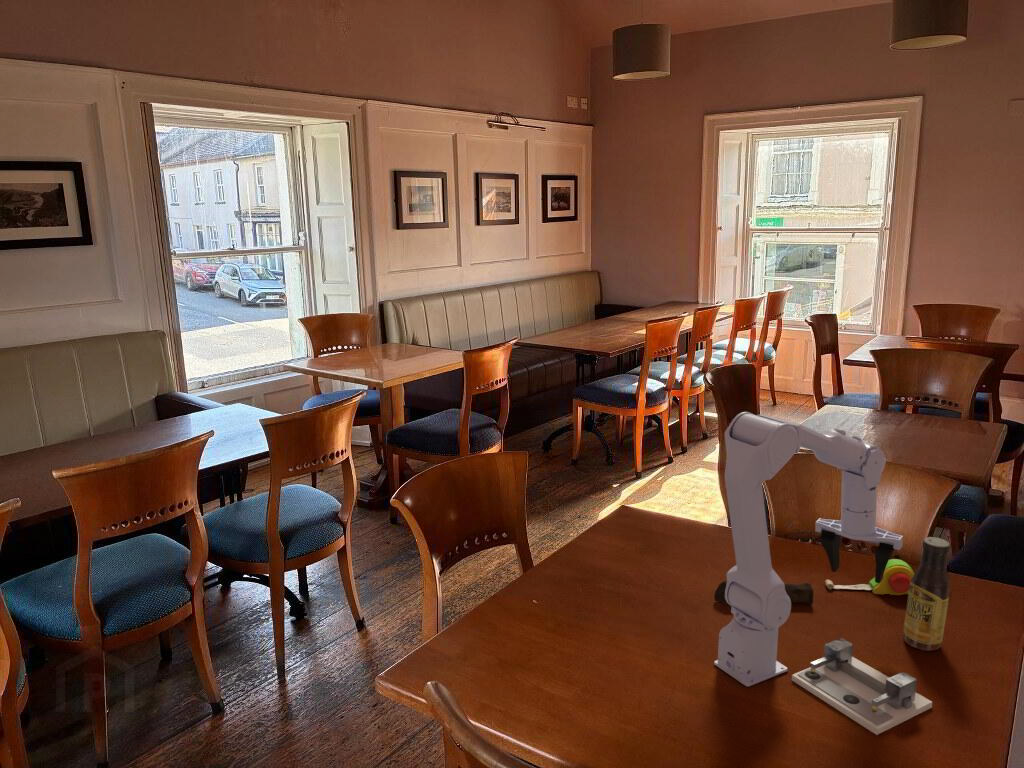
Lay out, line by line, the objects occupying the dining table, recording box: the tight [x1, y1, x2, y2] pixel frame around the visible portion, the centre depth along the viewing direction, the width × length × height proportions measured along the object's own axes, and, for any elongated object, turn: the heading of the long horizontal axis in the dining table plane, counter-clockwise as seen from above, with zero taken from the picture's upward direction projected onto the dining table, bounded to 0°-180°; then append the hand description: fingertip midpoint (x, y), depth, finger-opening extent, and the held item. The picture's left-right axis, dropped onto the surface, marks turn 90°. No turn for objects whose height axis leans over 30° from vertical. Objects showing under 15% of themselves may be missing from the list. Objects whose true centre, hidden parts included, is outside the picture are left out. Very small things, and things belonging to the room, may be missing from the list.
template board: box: [791, 656, 933, 736], centre depth 125 cm, size 13×16×2 cm
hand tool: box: [714, 580, 814, 606], centre depth 155 cm, size 19×4×5 cm, turn 86°
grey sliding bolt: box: [871, 671, 918, 712], centre depth 120 cm, size 8×2×4 cm, turn 119°
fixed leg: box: [809, 637, 854, 674], centre depth 130 cm, size 8×2×4 cm, turn 119°
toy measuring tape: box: [824, 558, 915, 596], centre depth 158 cm, size 6×19×7 cm, turn 81°
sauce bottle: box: [902, 536, 952, 652], centre depth 137 cm, size 6×6×20 cm
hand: (856, 574), depth 142 cm, fingers open, 7 cm apart
